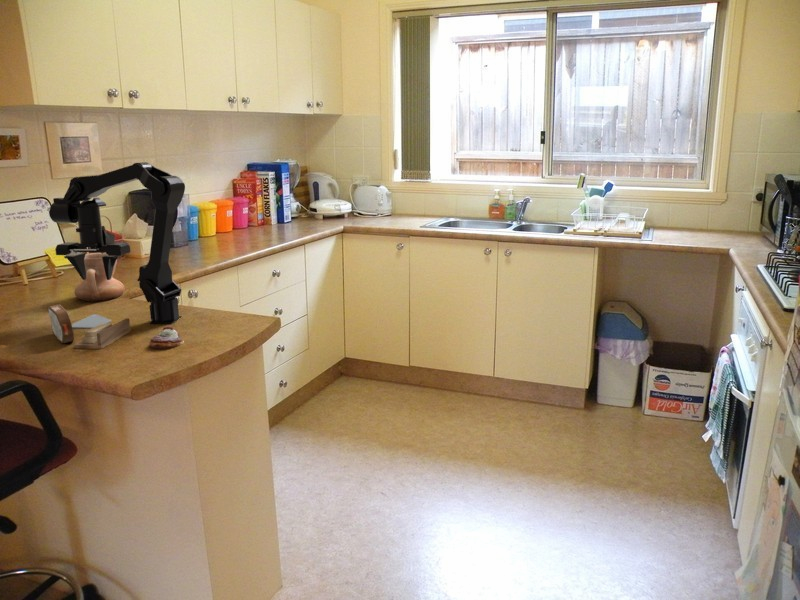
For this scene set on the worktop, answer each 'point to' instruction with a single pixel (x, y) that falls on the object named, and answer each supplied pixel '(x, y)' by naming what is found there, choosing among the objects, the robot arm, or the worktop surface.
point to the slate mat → (90, 322)
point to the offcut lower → (89, 339)
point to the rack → (108, 335)
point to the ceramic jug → (98, 281)
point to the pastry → (166, 339)
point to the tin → (61, 323)
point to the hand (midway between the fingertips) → (96, 279)
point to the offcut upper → (96, 329)
